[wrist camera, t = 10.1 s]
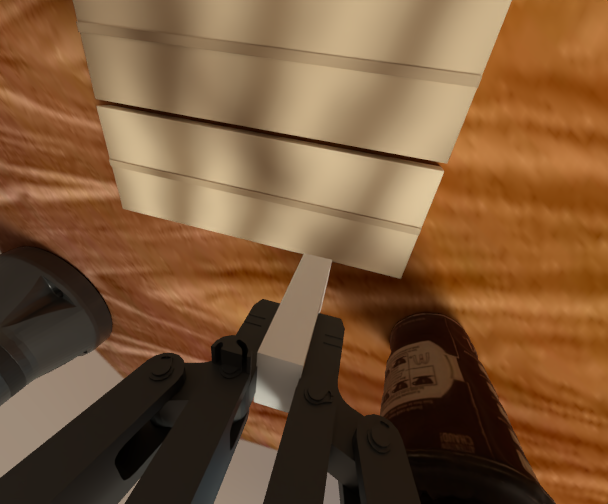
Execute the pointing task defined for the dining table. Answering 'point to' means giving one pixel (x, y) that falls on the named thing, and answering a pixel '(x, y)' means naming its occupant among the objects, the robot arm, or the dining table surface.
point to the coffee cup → (453, 419)
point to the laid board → (299, 64)
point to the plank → (271, 188)
